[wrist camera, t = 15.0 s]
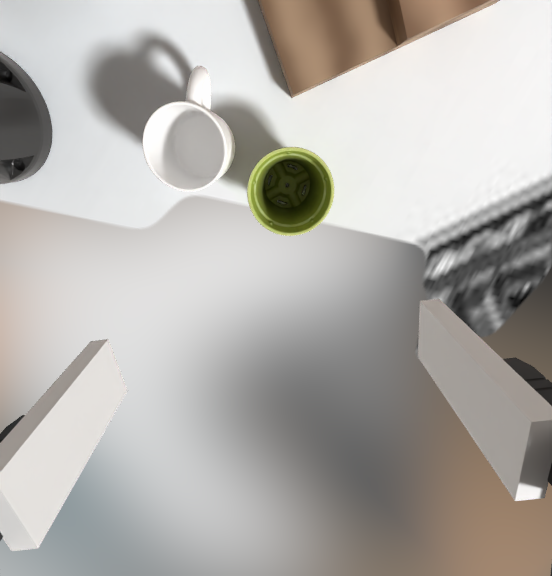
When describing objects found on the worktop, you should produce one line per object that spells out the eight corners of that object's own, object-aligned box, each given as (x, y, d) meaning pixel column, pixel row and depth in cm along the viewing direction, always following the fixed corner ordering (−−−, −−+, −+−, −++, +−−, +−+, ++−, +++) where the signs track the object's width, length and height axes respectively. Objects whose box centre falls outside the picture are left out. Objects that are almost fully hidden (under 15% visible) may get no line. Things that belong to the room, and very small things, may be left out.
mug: (175, 66, 40) (146, 44, 31) (246, 83, 41) (239, 67, 32) (167, 173, 45) (139, 182, 36) (230, 186, 46) (220, 199, 36)
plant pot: (260, 136, 43) (258, 135, 35) (332, 156, 44) (346, 160, 36) (244, 209, 47) (238, 224, 39) (311, 227, 48) (319, 244, 40)
